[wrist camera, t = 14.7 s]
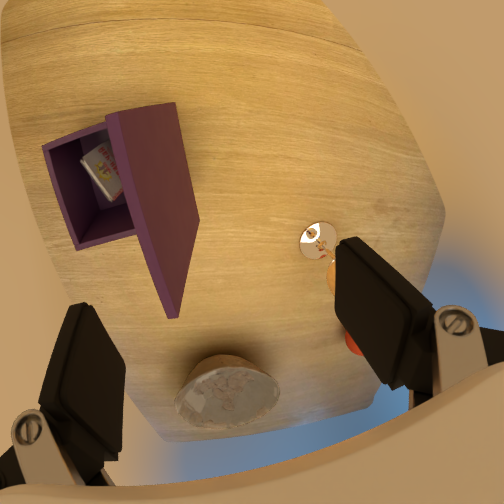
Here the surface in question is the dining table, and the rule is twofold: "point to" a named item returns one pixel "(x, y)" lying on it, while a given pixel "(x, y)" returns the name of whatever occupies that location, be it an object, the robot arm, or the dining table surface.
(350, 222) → the dining table surface
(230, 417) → the ceramic bowl
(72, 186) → the purple box
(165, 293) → the purple box lid
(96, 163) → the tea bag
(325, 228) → the wineglass
